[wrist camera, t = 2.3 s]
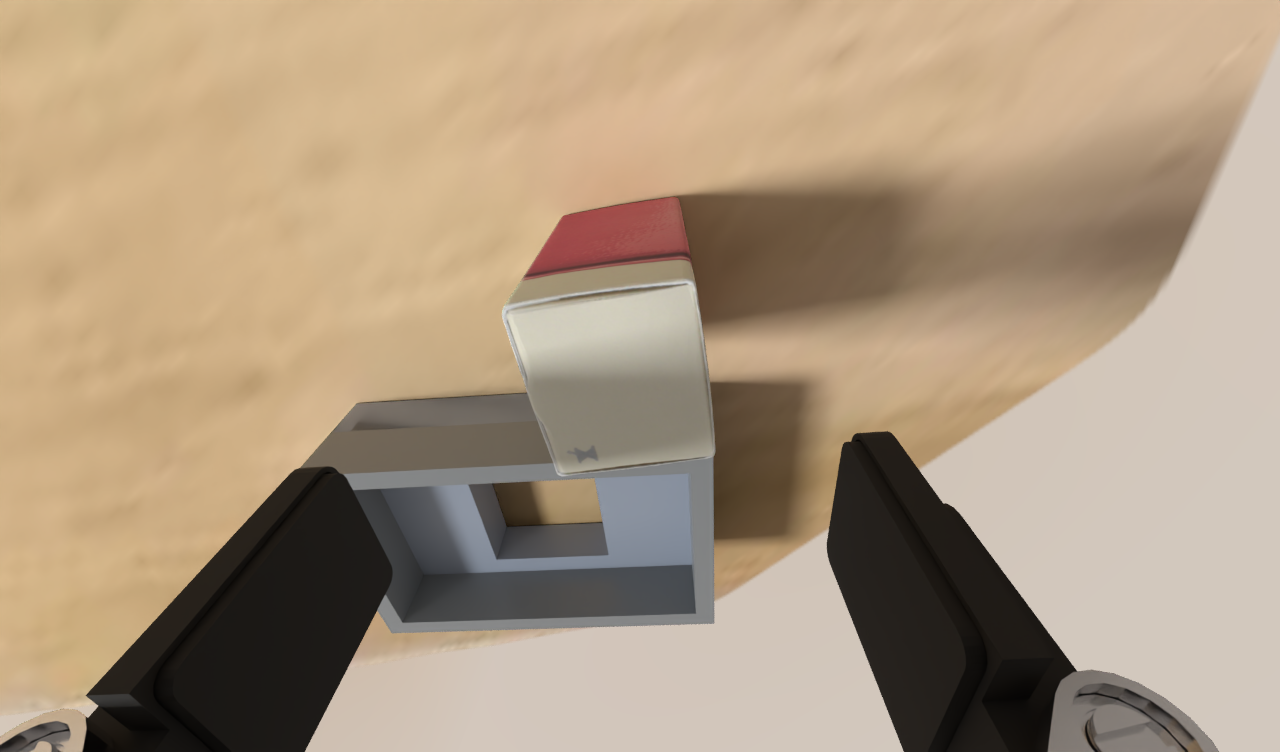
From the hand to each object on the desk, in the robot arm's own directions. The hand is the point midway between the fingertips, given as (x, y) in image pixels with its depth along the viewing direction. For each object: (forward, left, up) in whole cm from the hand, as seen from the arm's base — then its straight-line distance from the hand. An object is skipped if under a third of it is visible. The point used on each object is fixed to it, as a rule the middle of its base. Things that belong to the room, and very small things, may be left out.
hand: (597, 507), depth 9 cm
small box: (0, -1, -11) cm, 11 cm away
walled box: (+5, +9, -11) cm, 15 cm away
